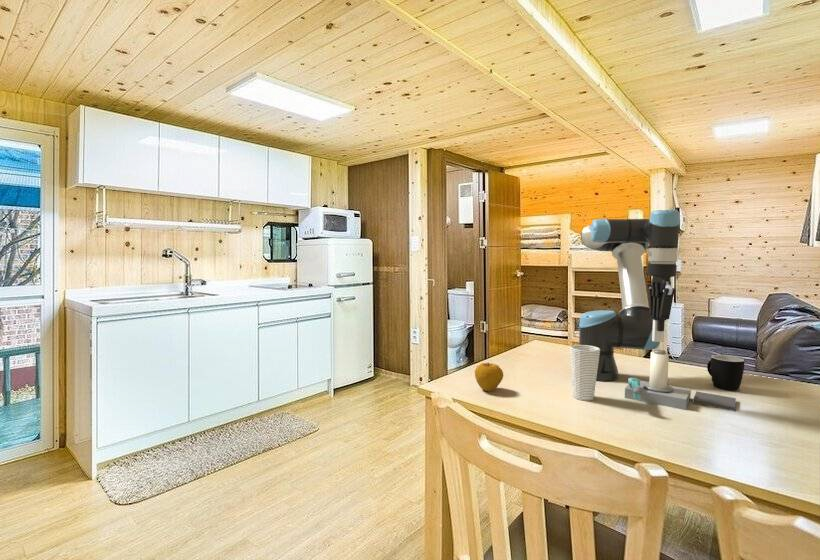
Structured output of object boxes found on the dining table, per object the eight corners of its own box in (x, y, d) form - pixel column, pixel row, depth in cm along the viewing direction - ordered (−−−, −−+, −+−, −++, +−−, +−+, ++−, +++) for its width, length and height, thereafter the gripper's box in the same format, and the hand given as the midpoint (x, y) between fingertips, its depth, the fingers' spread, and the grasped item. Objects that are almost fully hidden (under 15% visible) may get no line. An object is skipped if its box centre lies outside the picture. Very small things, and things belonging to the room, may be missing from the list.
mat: (692, 402, 130) (693, 399, 130) (696, 394, 138) (696, 391, 138) (734, 410, 124) (734, 407, 124) (735, 401, 132) (735, 398, 132)
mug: (749, 392, 141) (751, 361, 140) (725, 393, 140) (727, 361, 139) (718, 381, 153) (720, 352, 152) (695, 381, 151) (697, 353, 151)
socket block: (624, 397, 134) (625, 385, 134) (632, 388, 144) (633, 376, 143) (685, 409, 124) (686, 396, 124) (690, 398, 134) (691, 386, 134)
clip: (627, 382, 137) (628, 373, 137) (639, 383, 135) (639, 374, 135) (630, 399, 121) (631, 389, 121) (643, 400, 120) (644, 390, 120)
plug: (640, 398, 133) (642, 351, 132) (645, 392, 140) (647, 346, 139) (670, 404, 128) (673, 355, 127) (674, 397, 135) (676, 350, 134)
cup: (597, 394, 137) (599, 345, 136) (599, 403, 129) (601, 351, 128) (568, 391, 139) (569, 343, 138) (568, 400, 131) (570, 349, 130)
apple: (505, 388, 143) (506, 360, 142) (499, 396, 135) (499, 367, 134) (478, 384, 146) (479, 357, 146) (470, 391, 138) (471, 364, 138)
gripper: (639, 261, 136) (636, 336, 138) (658, 263, 123) (654, 345, 126) (665, 261, 135) (661, 336, 138) (686, 264, 123) (681, 346, 125)
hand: (657, 341), depth 132 cm, fingers closed
